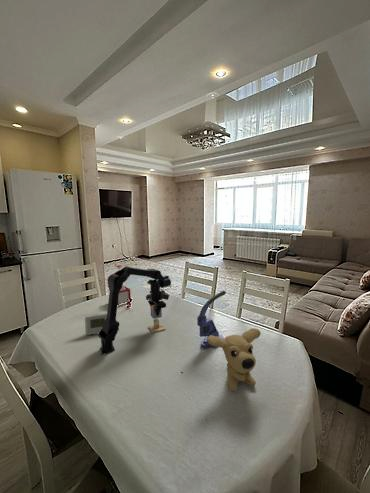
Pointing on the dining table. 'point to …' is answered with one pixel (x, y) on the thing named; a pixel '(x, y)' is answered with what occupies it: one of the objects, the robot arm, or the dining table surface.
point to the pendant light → (123, 292)
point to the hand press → (208, 323)
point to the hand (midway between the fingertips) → (156, 314)
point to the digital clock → (94, 323)
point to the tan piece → (156, 326)
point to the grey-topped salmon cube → (155, 313)
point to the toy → (238, 356)
